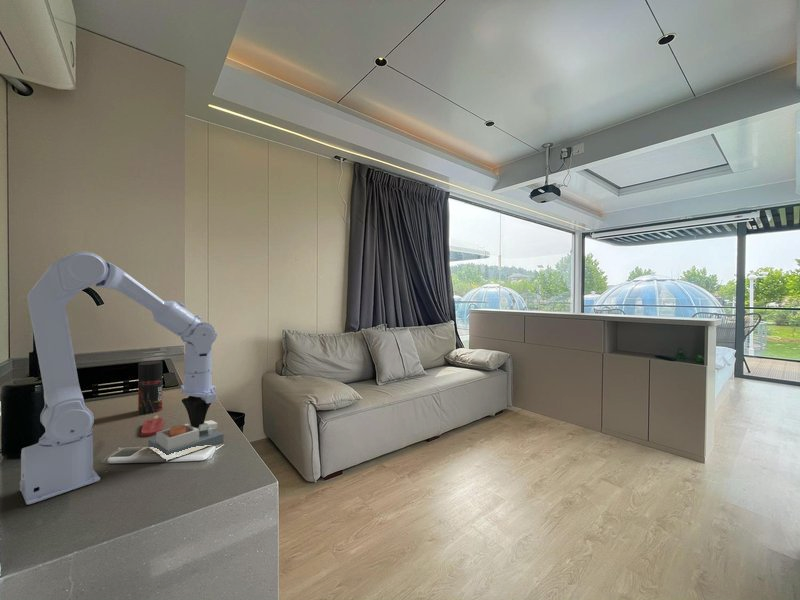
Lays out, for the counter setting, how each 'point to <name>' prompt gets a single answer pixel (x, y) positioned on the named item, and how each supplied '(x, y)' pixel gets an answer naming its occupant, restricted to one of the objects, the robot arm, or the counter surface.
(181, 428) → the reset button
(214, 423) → the rocker
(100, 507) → the counter surface
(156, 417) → the popsicle
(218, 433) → the breaker panel
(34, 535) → the counter surface
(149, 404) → the deodorant
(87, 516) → the counter surface
